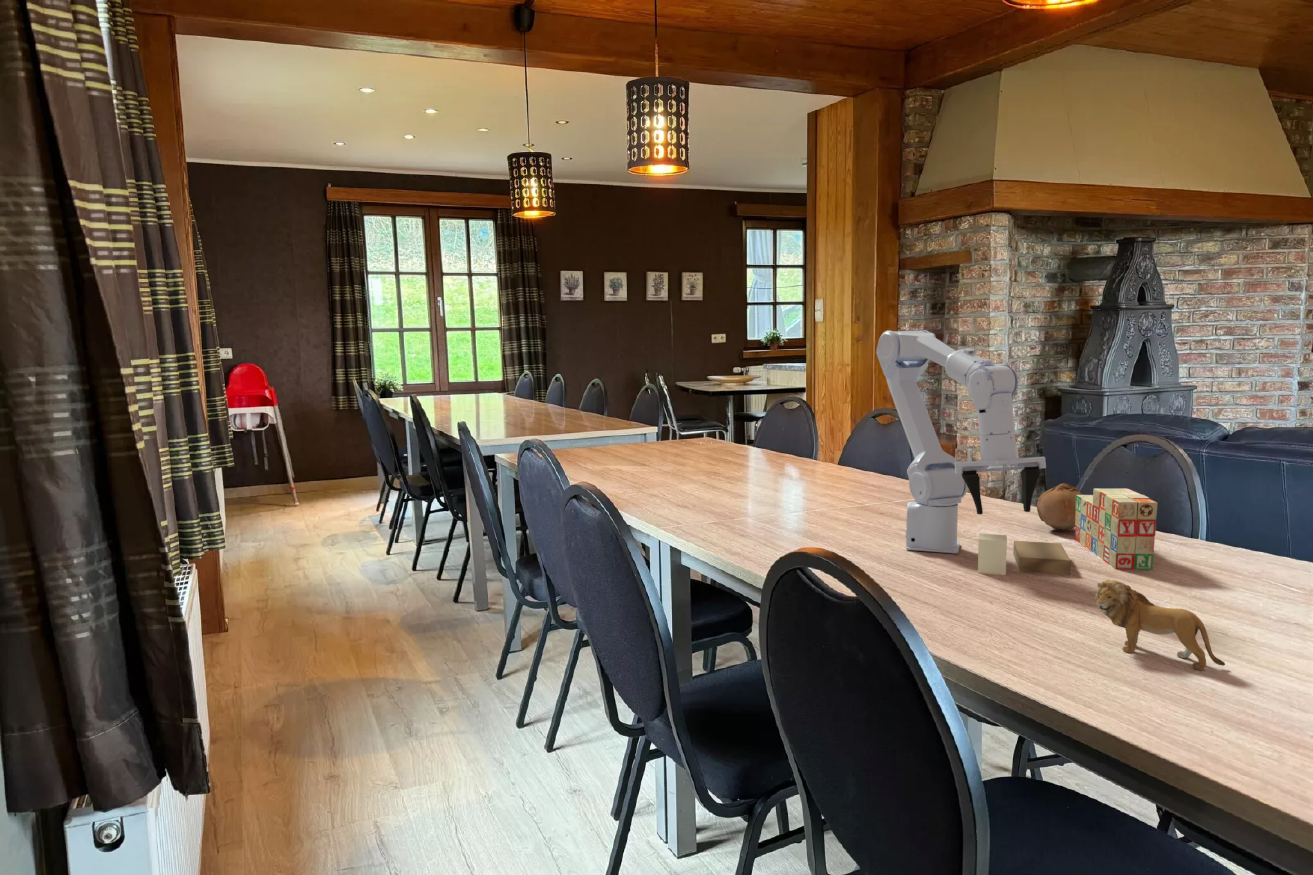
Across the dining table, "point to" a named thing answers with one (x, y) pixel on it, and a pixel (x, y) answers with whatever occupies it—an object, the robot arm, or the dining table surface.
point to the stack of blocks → (1117, 527)
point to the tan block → (1041, 557)
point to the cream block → (992, 554)
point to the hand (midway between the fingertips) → (1003, 512)
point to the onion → (1058, 507)
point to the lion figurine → (1151, 620)
